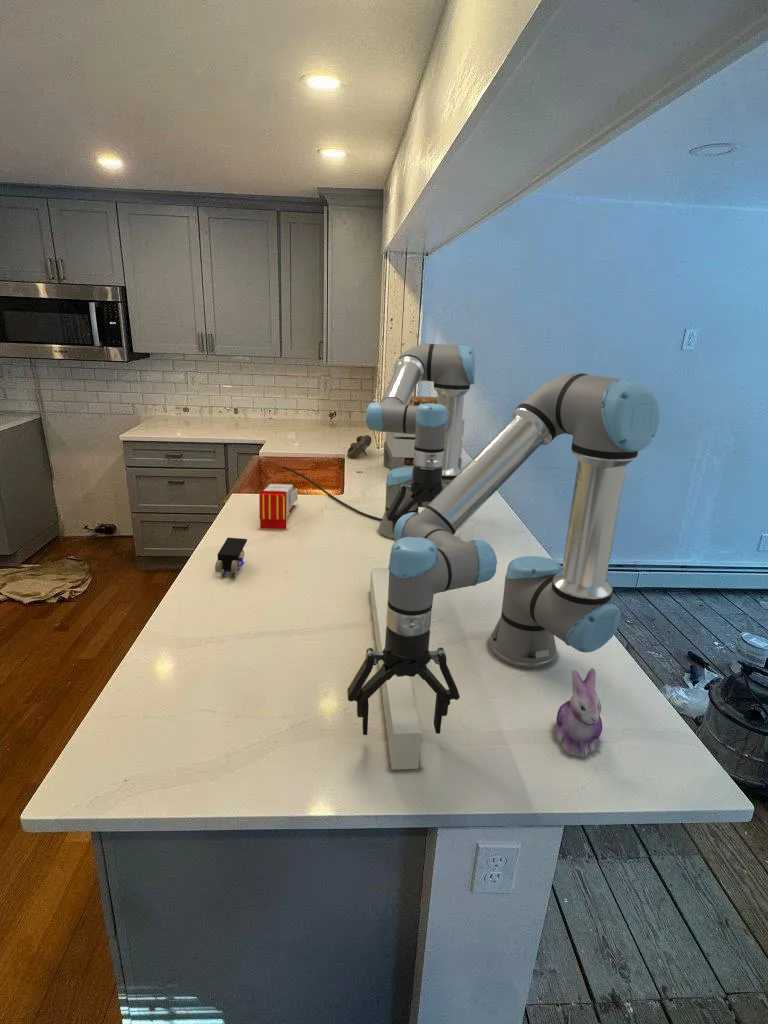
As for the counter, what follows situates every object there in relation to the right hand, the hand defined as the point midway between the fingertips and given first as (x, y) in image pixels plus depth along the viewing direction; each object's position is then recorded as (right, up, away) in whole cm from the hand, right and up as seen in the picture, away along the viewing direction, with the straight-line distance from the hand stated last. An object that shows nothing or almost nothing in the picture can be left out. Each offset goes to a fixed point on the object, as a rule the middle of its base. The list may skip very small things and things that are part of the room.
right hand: (401, 729), depth 103 cm
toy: (-42, +38, +108) cm, 122 cm away
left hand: (+7, +31, +47) cm, 57 cm away
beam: (-2, +6, +25) cm, 25 cm away
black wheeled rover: (-48, +23, +64) cm, 83 cm away
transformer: (+14, +58, +172) cm, 182 cm away
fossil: (-16, +71, +201) cm, 214 cm away
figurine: (+33, -3, +3) cm, 34 cm away
